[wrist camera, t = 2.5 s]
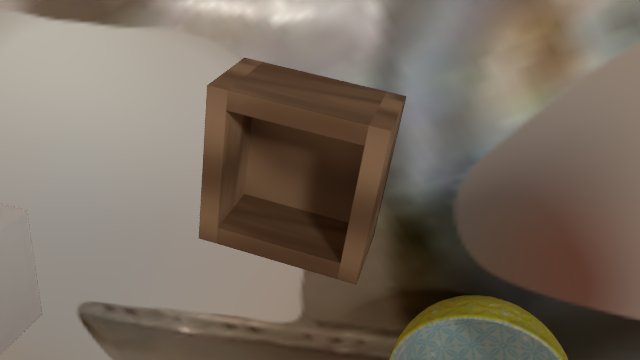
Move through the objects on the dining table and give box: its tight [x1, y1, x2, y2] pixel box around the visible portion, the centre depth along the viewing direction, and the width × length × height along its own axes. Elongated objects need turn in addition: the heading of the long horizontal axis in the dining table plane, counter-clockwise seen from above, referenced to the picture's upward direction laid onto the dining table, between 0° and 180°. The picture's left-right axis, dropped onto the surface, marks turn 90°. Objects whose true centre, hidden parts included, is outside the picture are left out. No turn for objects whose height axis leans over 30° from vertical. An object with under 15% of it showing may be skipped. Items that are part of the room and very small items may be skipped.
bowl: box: [389, 295, 568, 360], centre depth 39 cm, size 11×12×6 cm
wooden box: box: [199, 58, 406, 284], centre depth 37 cm, size 10×10×6 cm
